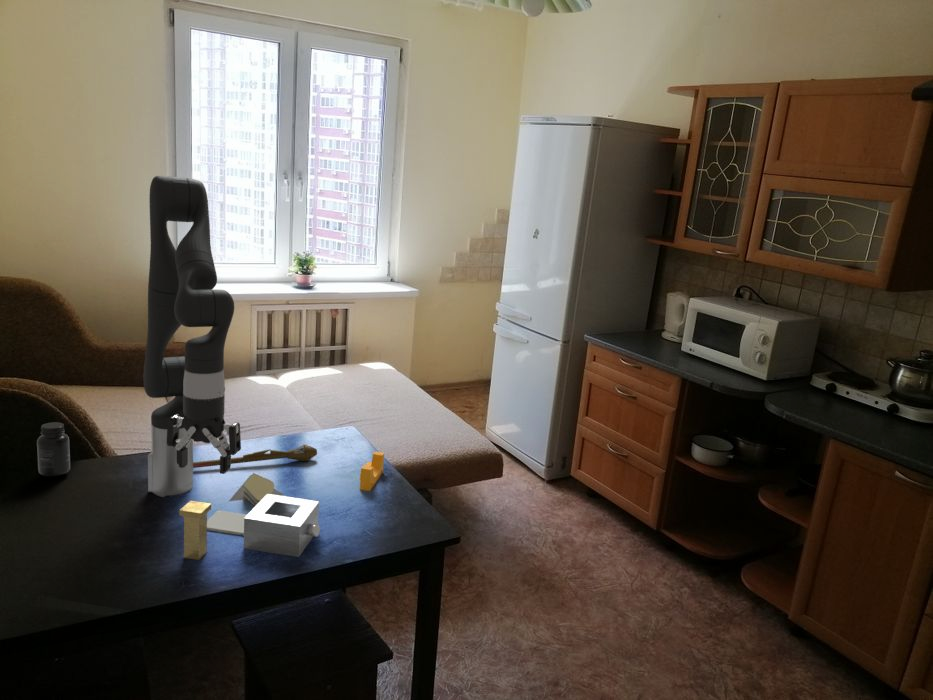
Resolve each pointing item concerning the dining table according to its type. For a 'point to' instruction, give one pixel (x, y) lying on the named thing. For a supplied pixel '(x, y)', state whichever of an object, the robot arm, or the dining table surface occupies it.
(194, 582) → the dining table surface
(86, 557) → the dining table surface
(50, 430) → the supplement bottle
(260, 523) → the block
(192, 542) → the capped wooden post
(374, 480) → the pipe clamp
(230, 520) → the mat
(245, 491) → the stacked layers on plate
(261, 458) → the panzerfaust rocket launcher
